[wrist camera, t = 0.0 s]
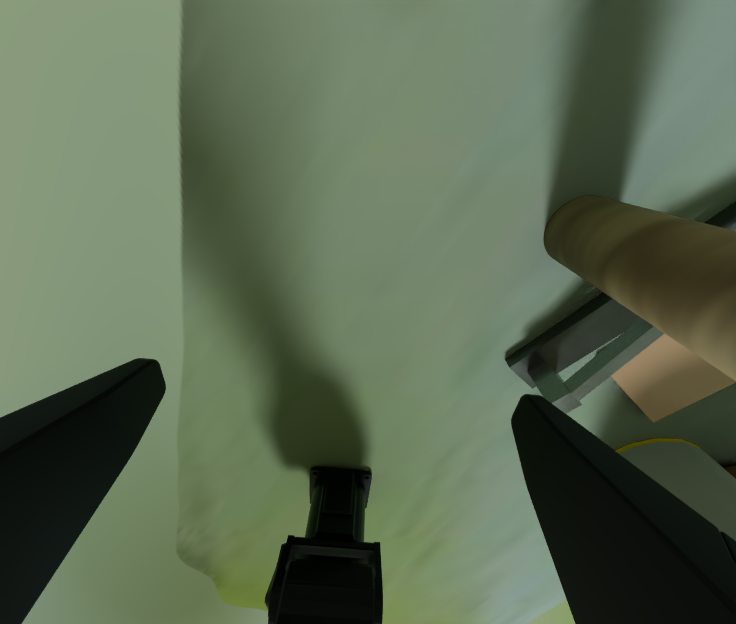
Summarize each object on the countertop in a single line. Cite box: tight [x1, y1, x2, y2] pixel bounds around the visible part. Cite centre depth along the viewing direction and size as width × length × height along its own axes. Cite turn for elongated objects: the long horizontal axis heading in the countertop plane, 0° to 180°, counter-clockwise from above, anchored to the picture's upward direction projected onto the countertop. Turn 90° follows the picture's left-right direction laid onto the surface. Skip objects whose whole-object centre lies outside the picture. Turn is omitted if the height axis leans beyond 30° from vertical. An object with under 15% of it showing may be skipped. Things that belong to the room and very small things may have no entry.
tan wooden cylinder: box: [544, 195, 736, 381], centre depth 14 cm, size 4×4×13 cm
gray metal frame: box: [505, 202, 736, 414], centre depth 20 cm, size 19×3×4 cm, turn 137°
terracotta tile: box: [610, 334, 736, 423], centre depth 24 cm, size 9×9×1 cm
